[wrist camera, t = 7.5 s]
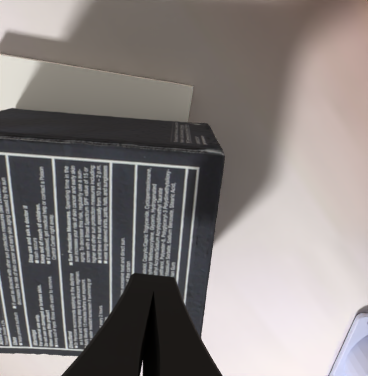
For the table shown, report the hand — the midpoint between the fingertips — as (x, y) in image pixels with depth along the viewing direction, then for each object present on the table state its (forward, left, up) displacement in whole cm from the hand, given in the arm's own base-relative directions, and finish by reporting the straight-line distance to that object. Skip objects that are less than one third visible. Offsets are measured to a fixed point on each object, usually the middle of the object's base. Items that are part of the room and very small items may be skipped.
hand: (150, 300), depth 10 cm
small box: (-3, +1, -6) cm, 7 cm away
